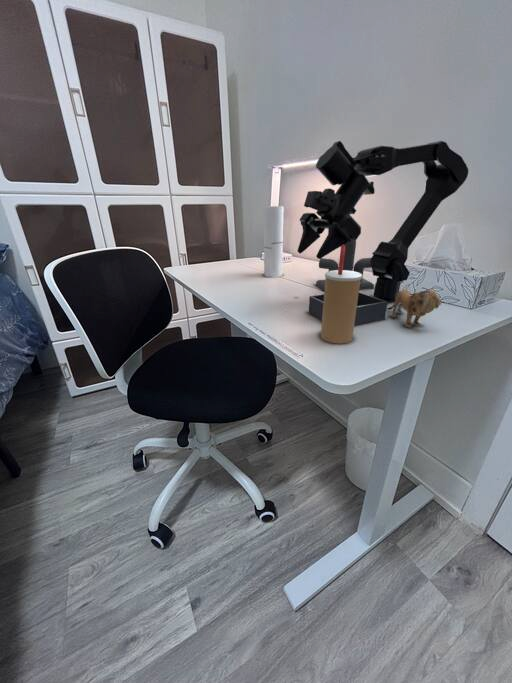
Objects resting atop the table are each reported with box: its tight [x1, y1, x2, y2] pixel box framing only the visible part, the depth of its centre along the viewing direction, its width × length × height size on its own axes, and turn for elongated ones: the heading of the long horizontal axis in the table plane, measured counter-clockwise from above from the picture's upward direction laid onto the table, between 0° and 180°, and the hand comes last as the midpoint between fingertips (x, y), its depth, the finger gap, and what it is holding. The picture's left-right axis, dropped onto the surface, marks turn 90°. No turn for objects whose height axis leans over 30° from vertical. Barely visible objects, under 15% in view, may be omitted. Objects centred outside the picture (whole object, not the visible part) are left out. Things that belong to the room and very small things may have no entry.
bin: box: [308, 291, 389, 327], centre depth 73 cm, size 14×12×4 cm
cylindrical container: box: [263, 205, 285, 278], centre depth 111 cm, size 7×7×25 cm
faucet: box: [315, 240, 375, 292], centre depth 98 cm, size 18×16×20 cm
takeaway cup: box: [320, 245, 362, 345], centre depth 58 cm, size 7×7×19 cm
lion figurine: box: [386, 289, 443, 328], centre depth 68 cm, size 15×5×9 cm, turn 13°
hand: (307, 255), depth 72 cm, fingers open, 9 cm apart
